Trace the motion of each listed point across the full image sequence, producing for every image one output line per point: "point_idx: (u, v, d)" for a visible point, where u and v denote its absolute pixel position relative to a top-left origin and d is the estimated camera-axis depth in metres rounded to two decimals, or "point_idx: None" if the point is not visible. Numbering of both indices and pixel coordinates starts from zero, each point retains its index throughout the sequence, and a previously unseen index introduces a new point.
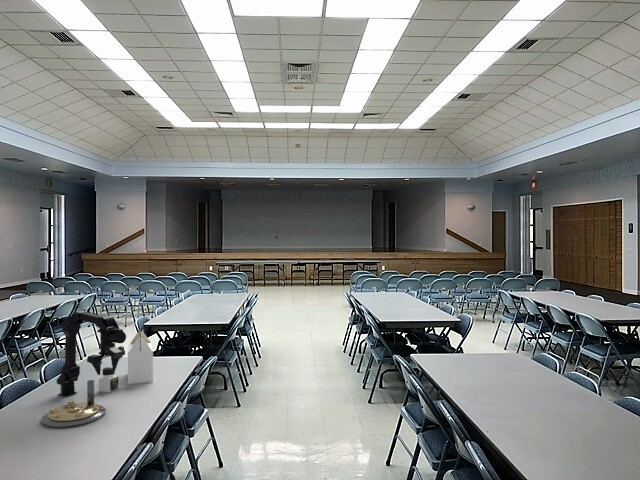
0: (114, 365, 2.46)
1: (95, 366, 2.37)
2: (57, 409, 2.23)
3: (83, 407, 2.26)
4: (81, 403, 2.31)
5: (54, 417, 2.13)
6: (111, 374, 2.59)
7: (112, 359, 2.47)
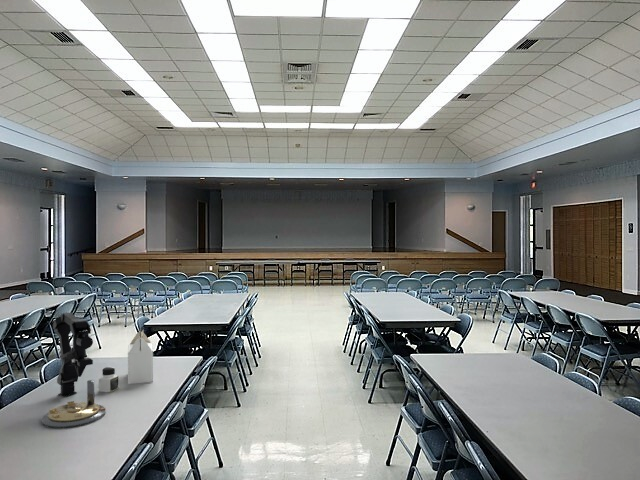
0: None
1: None
2: (57, 409, 2.23)
3: (83, 407, 2.26)
4: (81, 403, 2.31)
5: (54, 417, 2.13)
6: (111, 374, 2.59)
7: None
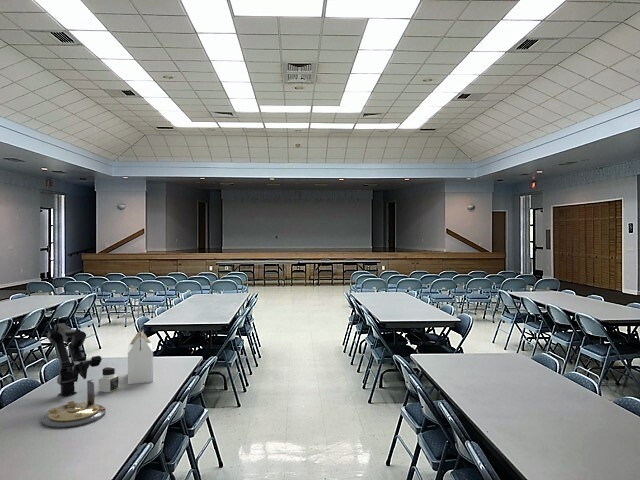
0: None
1: None
2: (57, 409, 2.23)
3: (83, 407, 2.26)
4: (81, 403, 2.31)
5: (54, 417, 2.13)
6: (111, 374, 2.59)
7: None
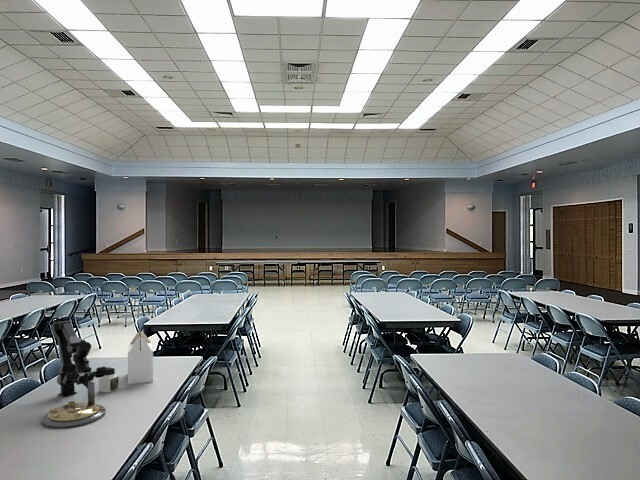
0: None
1: None
2: (57, 409, 2.24)
3: (83, 407, 2.26)
4: (82, 403, 2.31)
5: (53, 417, 2.13)
6: (111, 374, 2.59)
7: None
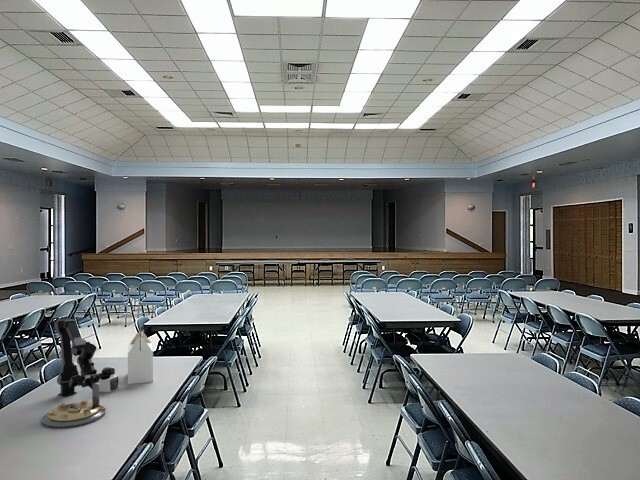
0: None
1: None
2: (67, 405, 2.28)
3: (84, 409, 2.24)
4: (91, 404, 2.30)
5: (48, 414, 2.17)
6: (111, 374, 2.59)
7: None
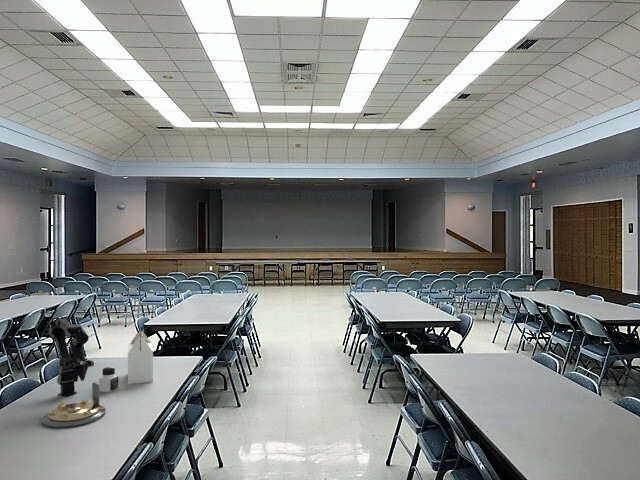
0: None
1: None
2: (67, 405, 2.28)
3: (84, 409, 2.24)
4: (91, 404, 2.30)
5: (48, 414, 2.17)
6: (111, 374, 2.59)
7: None
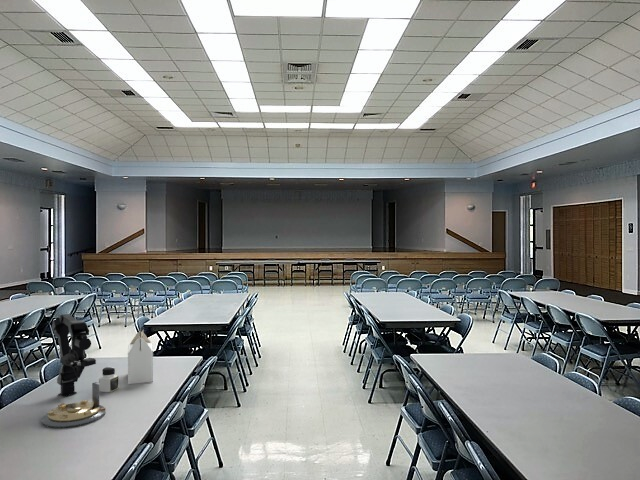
0: None
1: None
2: (67, 405, 2.28)
3: (84, 409, 2.24)
4: (91, 404, 2.30)
5: (48, 414, 2.17)
6: (111, 374, 2.59)
7: None
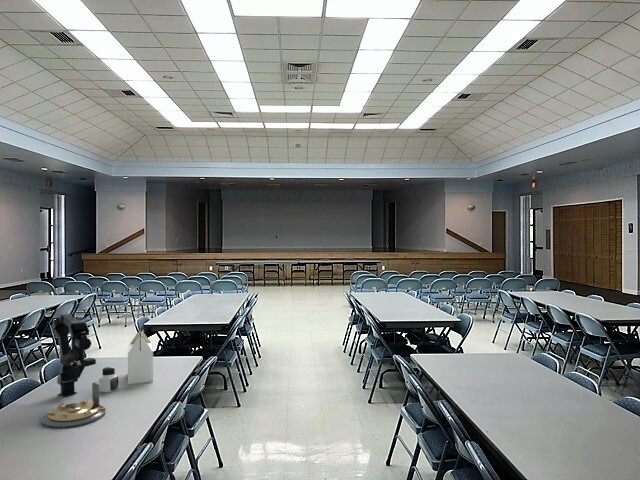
0: None
1: None
2: (67, 405, 2.28)
3: (84, 409, 2.24)
4: (91, 404, 2.30)
5: (48, 414, 2.17)
6: (111, 374, 2.59)
7: None
